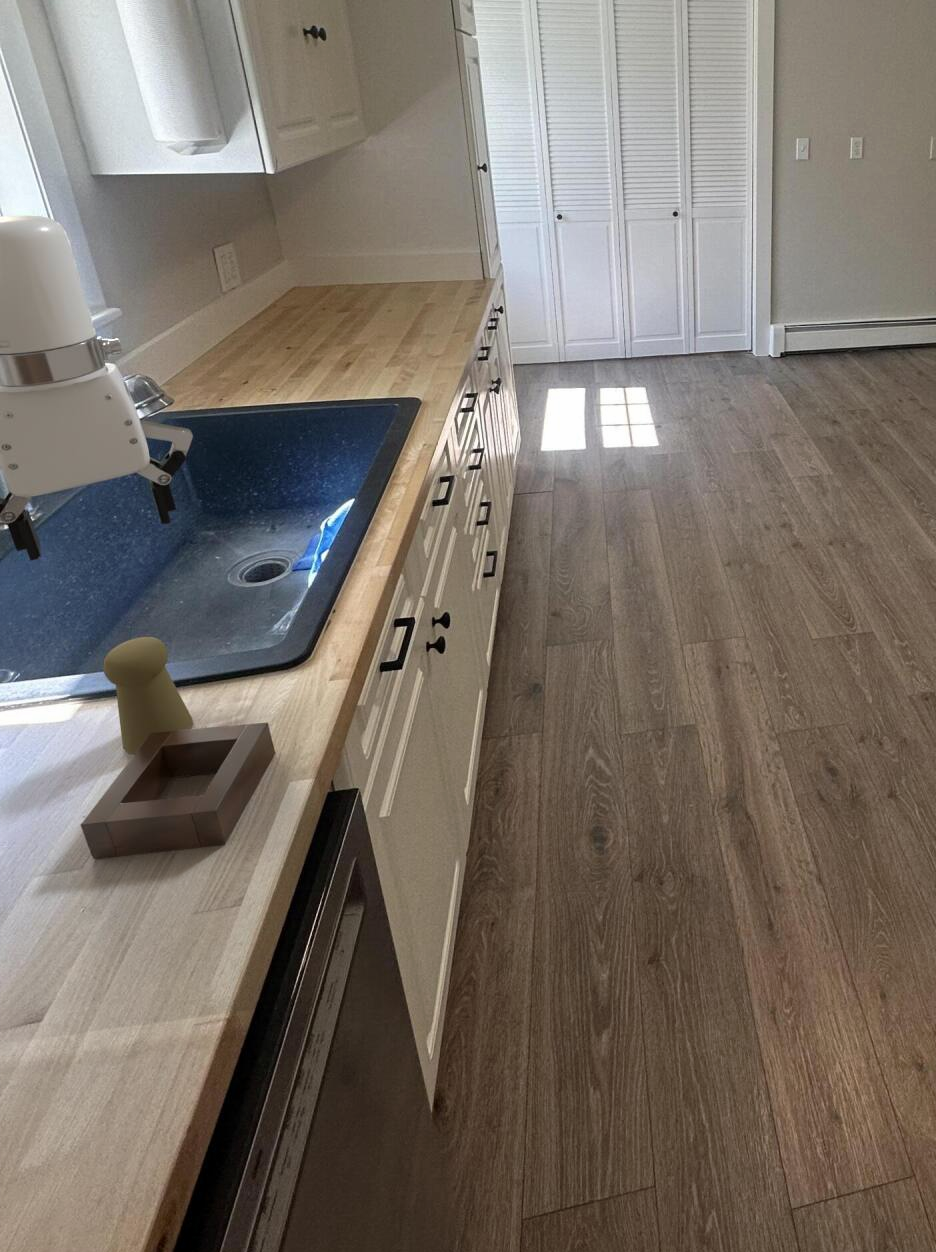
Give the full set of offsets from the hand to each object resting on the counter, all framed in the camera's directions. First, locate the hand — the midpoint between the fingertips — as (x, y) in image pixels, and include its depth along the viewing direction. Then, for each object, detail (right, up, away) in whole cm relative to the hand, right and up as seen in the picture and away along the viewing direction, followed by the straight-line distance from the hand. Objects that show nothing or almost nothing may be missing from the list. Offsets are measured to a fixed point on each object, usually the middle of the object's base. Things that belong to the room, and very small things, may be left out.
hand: (102, 535), depth 74 cm
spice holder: (+8, -26, +1) cm, 27 cm away
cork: (-2, -23, +9) cm, 25 cm away
